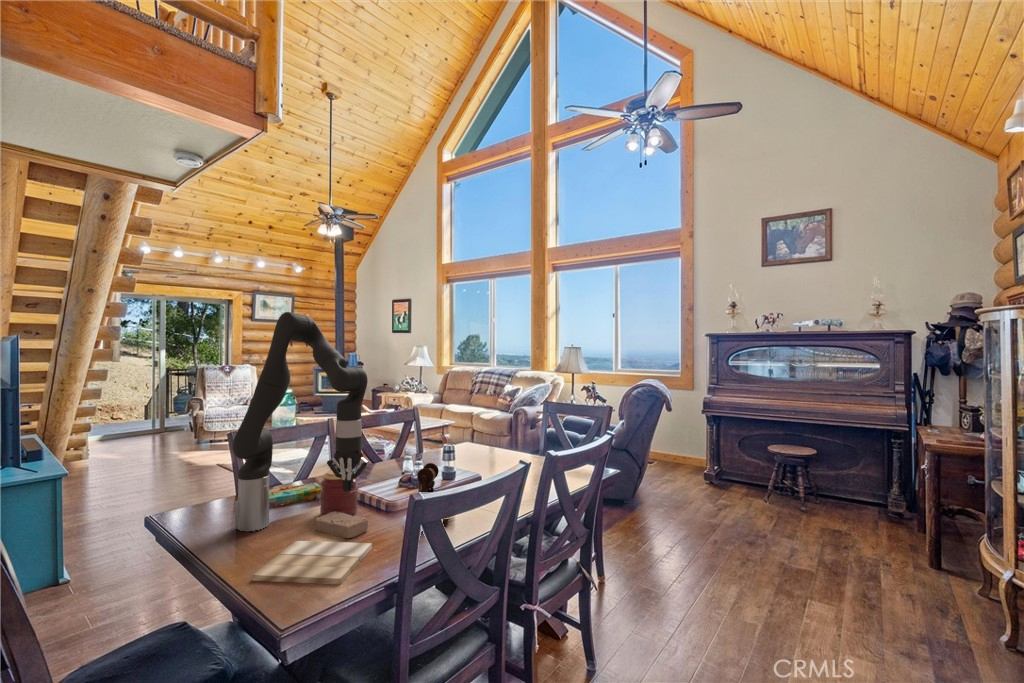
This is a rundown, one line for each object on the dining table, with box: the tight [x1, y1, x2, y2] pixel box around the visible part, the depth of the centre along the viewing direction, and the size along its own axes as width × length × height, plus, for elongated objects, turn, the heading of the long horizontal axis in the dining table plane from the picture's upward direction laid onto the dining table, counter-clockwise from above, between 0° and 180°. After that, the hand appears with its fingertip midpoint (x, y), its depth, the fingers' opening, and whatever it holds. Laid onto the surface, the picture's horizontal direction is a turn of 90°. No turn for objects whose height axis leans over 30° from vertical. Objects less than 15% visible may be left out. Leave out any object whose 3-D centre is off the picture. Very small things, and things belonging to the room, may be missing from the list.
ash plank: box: [279, 540, 373, 563], centre depth 139 cm, size 24×9×2 cm, turn 85°
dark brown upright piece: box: [416, 462, 450, 524], centre depth 162 cm, size 15×15×20 cm
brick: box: [315, 512, 369, 539], centre depth 156 cm, size 17×8×5 cm, turn 61°
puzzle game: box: [269, 482, 322, 507], centre depth 187 cm, size 12×5×20 cm
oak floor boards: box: [251, 553, 360, 585], centre depth 128 cm, size 24×12×2 cm, turn 85°
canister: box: [319, 464, 359, 517], centre depth 172 cm, size 13×13×18 cm
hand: (347, 491), depth 141 cm, fingers closed
